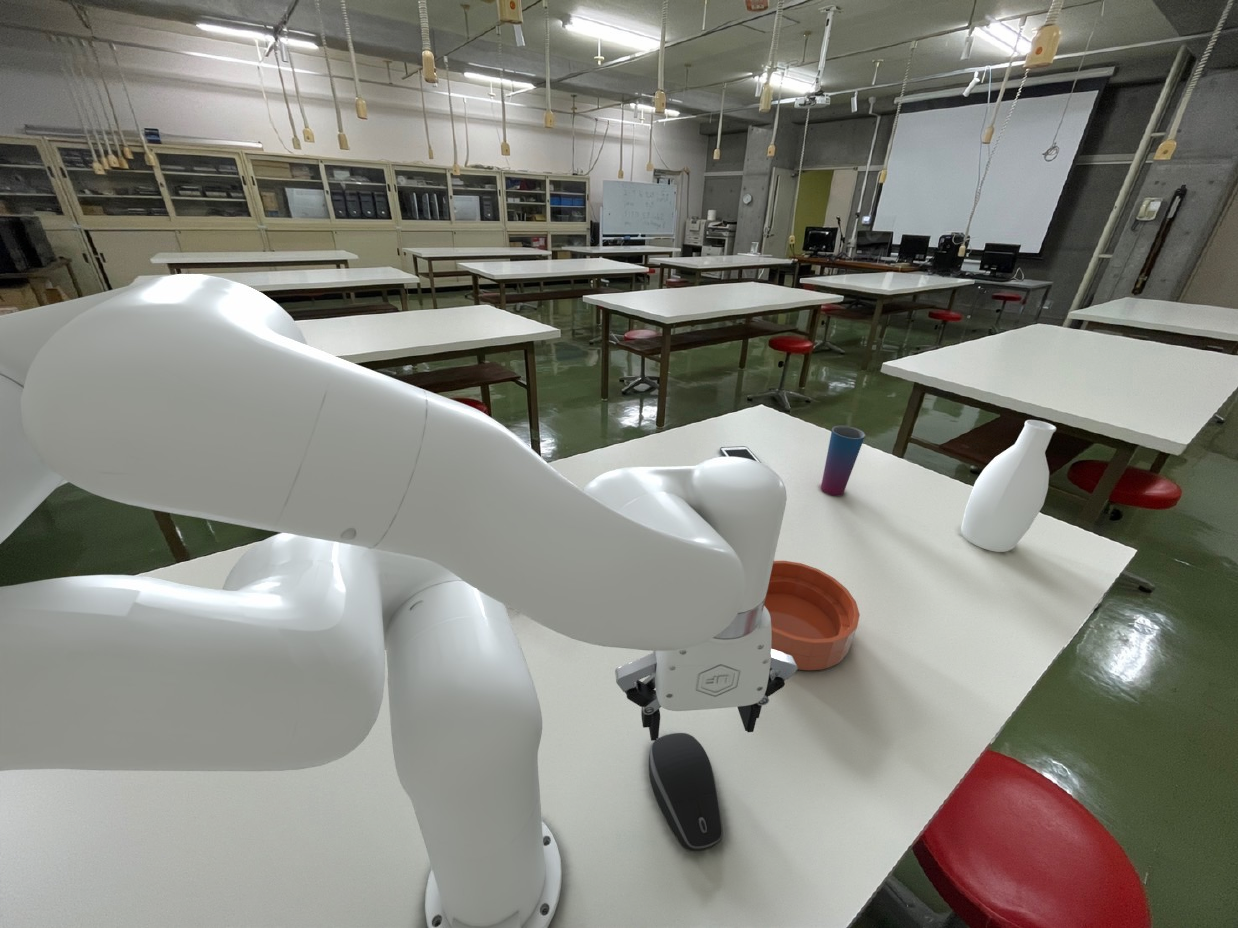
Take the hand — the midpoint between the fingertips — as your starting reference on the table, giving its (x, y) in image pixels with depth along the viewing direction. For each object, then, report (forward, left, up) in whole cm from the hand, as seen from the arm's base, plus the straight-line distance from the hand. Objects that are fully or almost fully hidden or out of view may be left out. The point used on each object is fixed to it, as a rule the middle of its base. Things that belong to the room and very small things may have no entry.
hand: (698, 722), depth 51 cm
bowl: (+23, -22, -12) cm, 34 cm away
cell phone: (+77, -32, -12) cm, 84 cm away
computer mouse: (0, 0, -12) cm, 12 cm away
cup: (+63, -49, -12) cm, 80 cm away
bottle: (+43, -72, -12) cm, 84 cm away
